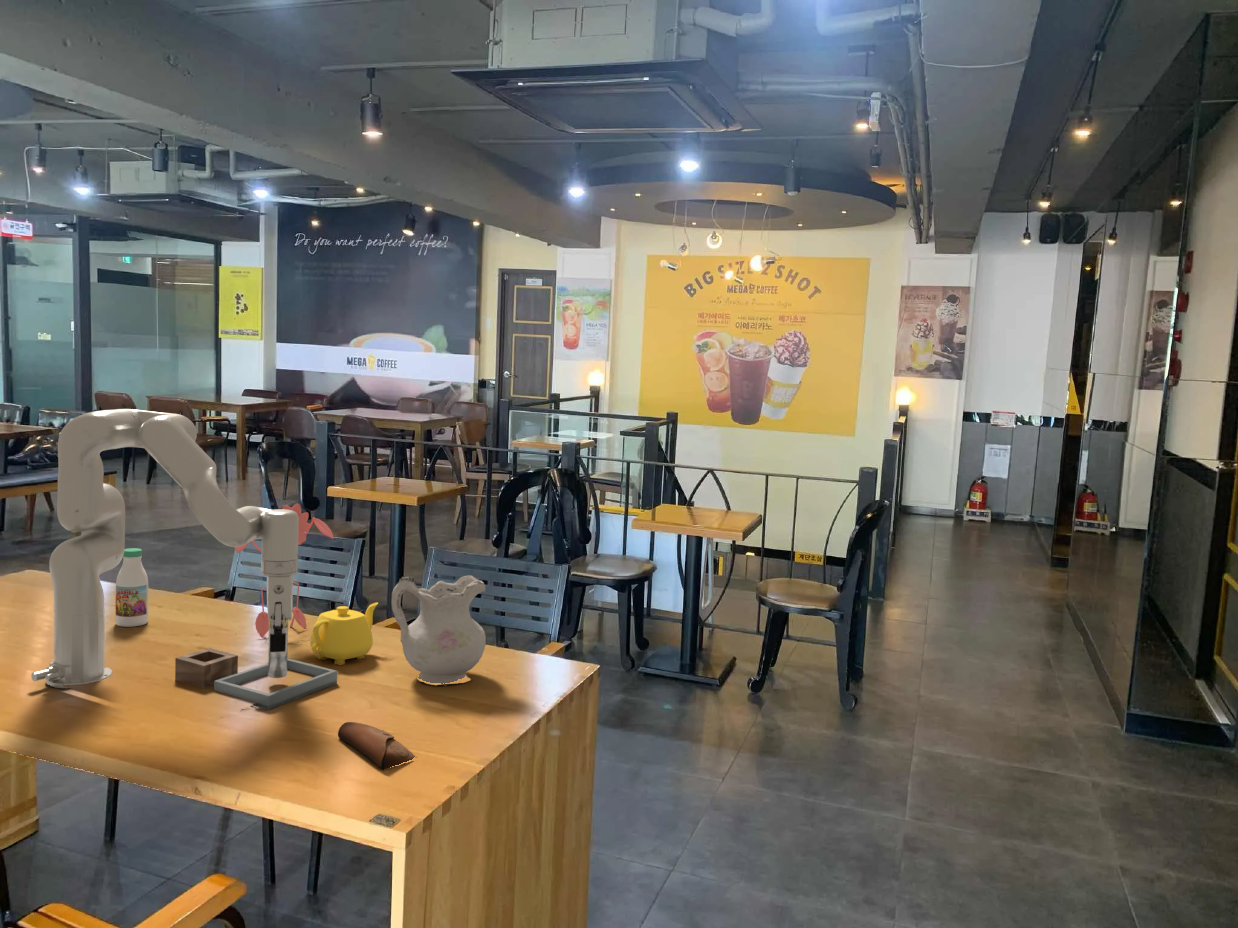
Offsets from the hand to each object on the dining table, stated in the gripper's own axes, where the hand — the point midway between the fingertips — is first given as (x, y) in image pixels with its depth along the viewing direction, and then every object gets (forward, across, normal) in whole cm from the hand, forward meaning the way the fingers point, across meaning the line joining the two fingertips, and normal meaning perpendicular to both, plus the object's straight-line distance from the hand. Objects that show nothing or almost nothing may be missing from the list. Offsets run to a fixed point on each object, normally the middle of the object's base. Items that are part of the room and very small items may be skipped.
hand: (277, 647), depth 206 cm
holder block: (+9, +6, +15) cm, 19 cm away
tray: (+9, 0, 0) cm, 9 cm away
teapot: (+10, +21, -16) cm, 28 cm away
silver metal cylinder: (+6, 0, 0) cm, 6 cm away
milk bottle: (+10, +57, +38) cm, 69 cm away
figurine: (+10, +41, -1) cm, 42 cm away
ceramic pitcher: (+10, +1, -35) cm, 37 cm away
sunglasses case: (+10, -37, -19) cm, 43 cm away
